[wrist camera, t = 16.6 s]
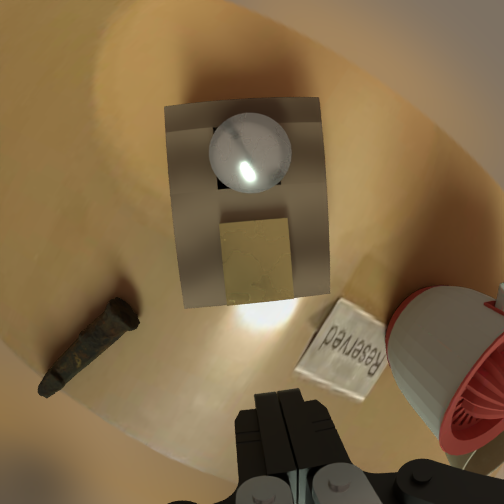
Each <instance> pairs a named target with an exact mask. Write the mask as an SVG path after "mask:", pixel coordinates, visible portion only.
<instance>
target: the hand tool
mask: <svg viewBox="0 0 504 504" xmlns="http://www.w3.org/2000/svg"><path fill="white" fill-rule="evenodd" d="M139 324H140V321H139V319H138V315H137V314H136V313H135V312H134V311H133V310H132V308H131V307H130V306H129V305H128V304H127V303H126V302H125V301H123V300H122V299H121V298H118V297H116V298H115V299H111V300H110V301H109V302H108V304H107V308H106V309H105V312H104V313H103V314H102V315H100V316H99V317H98V318H97V319H96V320H95V321H94V322H93V323H92V324H90V325H89V326H88V327H87V328H86V330H84V331H82V332H81V333H80V334H79V338H78V339H77V340H76V341H75V342H74V344H73V345H72V346H71V347H70V348H69V349H68V350H67V351H66V352H65V353H64V354H63V355H62V356H61V357H60V358H59V359H58V360H57V361H56V362H55V363H54V365H53V366H52V368H51V369H49V370H48V372H47V373H46V375H45V376H44V378H43V379H42V381H41V383H40V384H39V386H38V393H39V395H40V396H44V397H45V398H48V397H50V396H51V395H53V394H55V392H57V391H59V390H61V389H62V388H63V387H64V386H65V384H66V383H67V382H68V381H70V380H71V379H72V378H73V377H74V376H75V375H76V374H77V373H78V372H80V371H81V370H82V369H83V368H85V367H86V366H87V365H89V364H90V363H91V362H92V361H93V360H94V359H96V358H97V357H98V356H99V355H100V354H101V353H102V352H104V351H105V350H106V349H107V348H108V347H110V346H111V345H112V344H113V343H114V342H115V341H117V340H118V339H119V338H120V337H121V336H122V335H123V334H124V333H125V332H127V331H132V330H135V329H136V328H137V327H138V325H139Z"/></svg>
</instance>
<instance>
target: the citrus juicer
mask: <svg viewBox="0 0 504 504" xmlns="http://www.w3.org/2000/svg"><path fill="white" fill-rule="evenodd" d="M385 343H386V354H387V360H388V363H389V366H390V368H391V370H392V373H393V376H394V378H395V381H396V383H397V385H398V387H399V389H400V390H401V392H402V393H403V395H404V396H405V397H406V399H407V400H408V402H409V403H410V405H411V406H412V407H413V408H414V410H415V411H416V412H417V413H418V415H419V416H420V417H421V418H422V420H423V421H424V422H425V423H426V425H427V426H428V427H429V428H430V430H431V431H432V432H433V433H434V435H435V436H436V437H437V439H438V440H439V443H440V446H441V448H442V450H443V451H444V452H446V453H448V454H450V455H457V456H458V455H464V454H467V453H470V452H473V451H475V450H477V449H479V448H481V447H482V446H484V445H486V444H487V443H489V442H490V441H491V440H493V439H494V438H495V437H497V436H498V435H499V434H500V433H501V432H502V431H504V283H500V284H499V290H498V295H497V299H494V298H492V297H490V296H488V295H485V294H483V293H480V292H478V291H475V290H473V289H469V288H464V287H458V286H449V285H436V286H431V287H425V288H422V289H420V290H417V291H416V292H414V293H413V294H411V295H410V296H408V297H407V298H406V299H405V300H404V301H403V302H402V303H401V304H400V306H399V307H398V308H397V309H396V311H395V313H394V314H393V316H392V318H391V320H390V322H389V325H388V328H387V332H386V339H385Z"/></svg>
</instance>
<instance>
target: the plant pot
mask: <svg viewBox="0 0 504 504" xmlns="http://www.w3.org/2000/svg"><path fill="white" fill-rule="evenodd" d="M445 454H446V456H447V458H448V461H449V463H450V465H451V466H452V467H456V468H459V469H463V470H466V471H470V472H474V473H478V474H482V475H486V476H487V475H489V474H490V473H492V472H493V471H494V470H496V469H497V468H498V467H499V466H500V465H501V464H503V463H504V431H502V432H501V433H500V434H499V435H498V436H497V437H495V438H494V439H493V440H491V441H490V442H489V443H487V444H486V445H484V446H482V447H481V448H479V449H477V450H475V451H473V452H470V453H467V454H464V455H458V456H457V455H450V454H448V453H446V452H445Z"/></svg>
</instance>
